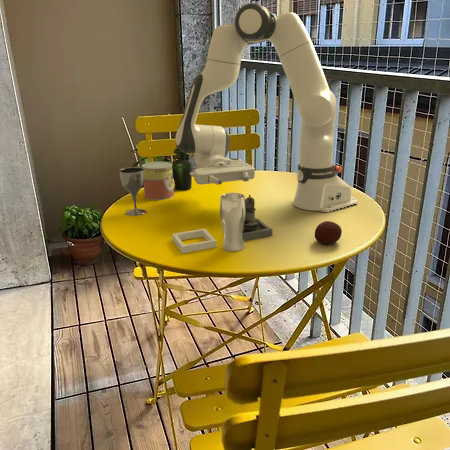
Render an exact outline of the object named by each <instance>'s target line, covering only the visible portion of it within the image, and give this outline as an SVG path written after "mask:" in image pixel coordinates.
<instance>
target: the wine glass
mask: <svg viewBox="0 0 450 450" xmlns="http://www.w3.org/2000/svg"><path fill="white" fill-rule="evenodd" d="M119 178H120V181H121V184H122V187H123V188H124V189H125V191H127V192H128V193H129V194H130V195H131V197H132V202H133V206H134V208H132V209H129V210H126V211H125V215H126V216H131V217H136V216H141V215H144V214H146V213H147V210H146V209H144V208H138V206H137V196H138V194H139V192H140V191H141V189H142V188H143V187H144V169H143V168H142V166H141V167H140V166H131V167H130V166H128V167H123V168H121V169H119Z"/></svg>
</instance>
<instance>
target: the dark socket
mask: <svg viewBox="0 0 450 450" xmlns="http://www.w3.org/2000/svg"><path fill="white" fill-rule="evenodd" d="M256 219H258V220H259V221H260V222H259V225H258V227H257V229H258V230H257V229H256V230H257V231H251V232H246V233H243V241H244V242H245V241H249V240H254V239H255V240H256V239H260V238H261V239H262V238H265V237H272V236H273V228H272V227H270V226H269V225H268V224H266V223H264V222H263V221H262V220H261V219H259V218H256Z"/></svg>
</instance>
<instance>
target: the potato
mask: <svg viewBox="0 0 450 450" xmlns="http://www.w3.org/2000/svg"><path fill="white" fill-rule="evenodd" d="M315 227H316V228H315V230H314V238H315V240H316V241H317V242H318V243H320V244H325V245H330V244H335V243H336V242H338V241H339V240H340V239H341V236H342V235H343V233H342V232H343V231H342V228H341V226H340V225H339V224H338V223H336V222H334V221H330V220H329V221H328V220H326V221H322V222H321V223H319V224H318V225H317V226H315Z"/></svg>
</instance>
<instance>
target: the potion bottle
mask: <svg viewBox="0 0 450 450" xmlns="http://www.w3.org/2000/svg"><path fill="white" fill-rule="evenodd" d="M175 146H176V145H175ZM173 154H175V155H176V157H177V160H174V161H173V162H172V173H173V186H174V190H176V191H182V192H183V191H185V192H186V191H189V190H191V188H192V183H193V182H192V181H193V177H192V176H191V175H190V173H191V172H193V164H192V162H191V161H189V160H188V159H186V158H187V157H186V156H187V153H186V154H185V153H183V152H182V151H181V150H180V149H179V148H178V147H177V146H176V148H175V149H174V150H173Z"/></svg>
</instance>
